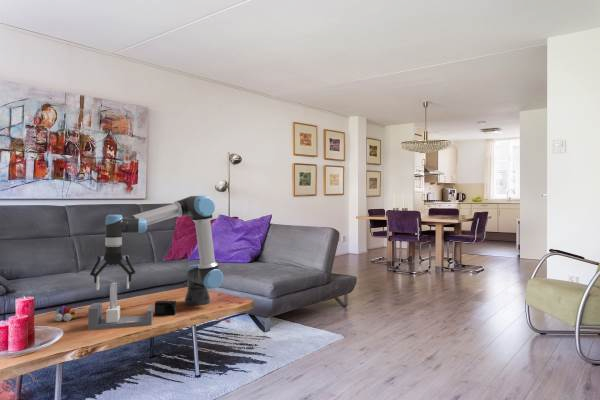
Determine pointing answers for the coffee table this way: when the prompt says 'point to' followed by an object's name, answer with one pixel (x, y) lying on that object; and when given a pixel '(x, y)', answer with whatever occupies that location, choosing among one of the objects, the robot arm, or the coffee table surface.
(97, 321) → the bench clamp
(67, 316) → the rainbow disc rattle
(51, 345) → the coffee table surface
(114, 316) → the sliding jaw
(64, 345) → the coffee table surface
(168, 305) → the digital camera
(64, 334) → the coffee table surface
